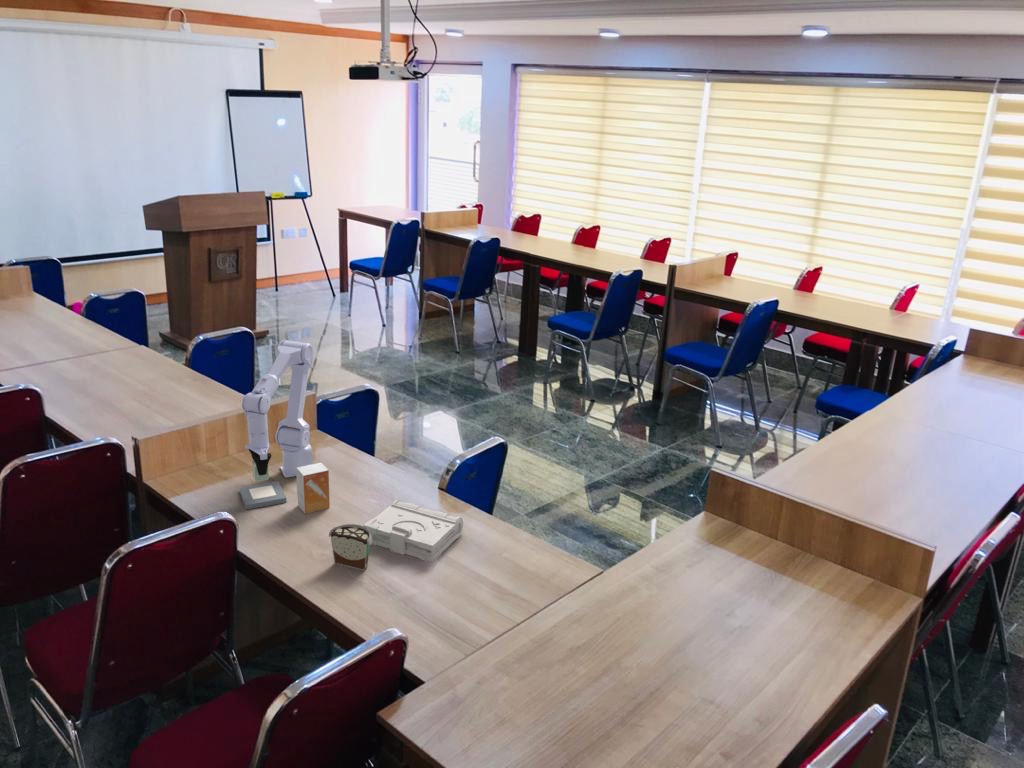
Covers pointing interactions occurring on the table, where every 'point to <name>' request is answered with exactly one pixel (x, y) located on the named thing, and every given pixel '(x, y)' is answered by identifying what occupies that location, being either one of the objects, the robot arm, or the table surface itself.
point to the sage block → (256, 475)
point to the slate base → (262, 495)
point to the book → (414, 530)
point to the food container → (351, 545)
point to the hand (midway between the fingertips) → (261, 471)
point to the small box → (313, 487)
